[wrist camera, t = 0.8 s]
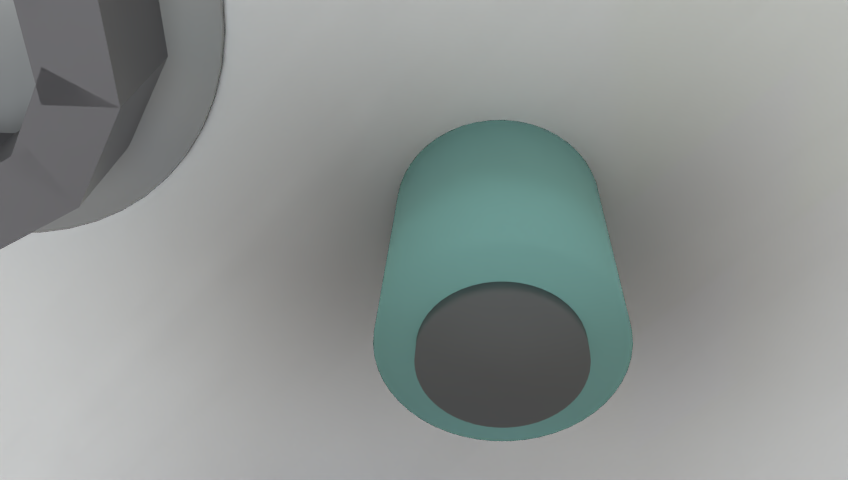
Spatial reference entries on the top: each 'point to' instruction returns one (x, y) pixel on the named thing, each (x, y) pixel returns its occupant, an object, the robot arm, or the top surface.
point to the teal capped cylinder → (501, 287)
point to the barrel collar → (98, 103)
